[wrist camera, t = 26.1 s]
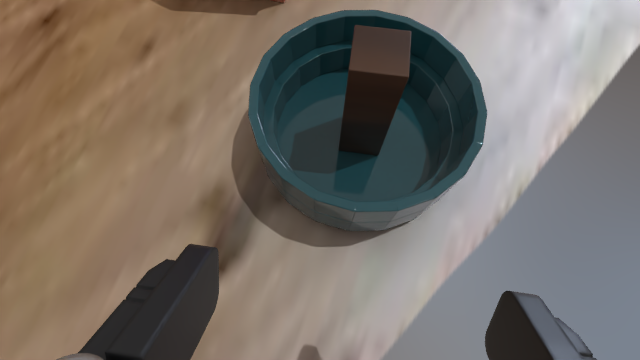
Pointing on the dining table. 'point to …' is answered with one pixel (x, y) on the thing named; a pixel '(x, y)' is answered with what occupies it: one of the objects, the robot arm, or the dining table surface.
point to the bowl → (326, 119)
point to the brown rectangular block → (373, 87)
